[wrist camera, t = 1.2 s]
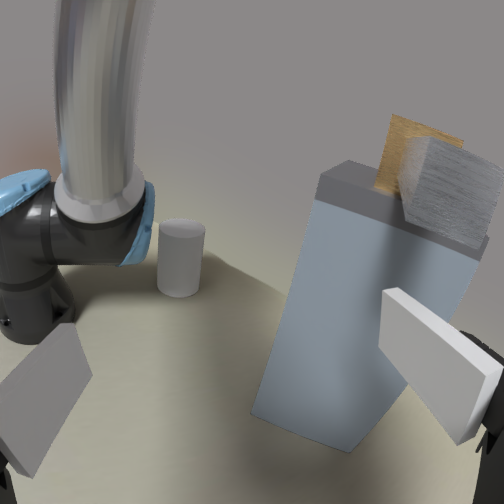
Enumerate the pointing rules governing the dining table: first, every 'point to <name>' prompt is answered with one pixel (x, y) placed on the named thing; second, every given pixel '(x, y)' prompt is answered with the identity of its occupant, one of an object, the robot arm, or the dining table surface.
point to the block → (439, 181)
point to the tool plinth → (353, 308)
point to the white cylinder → (179, 257)
